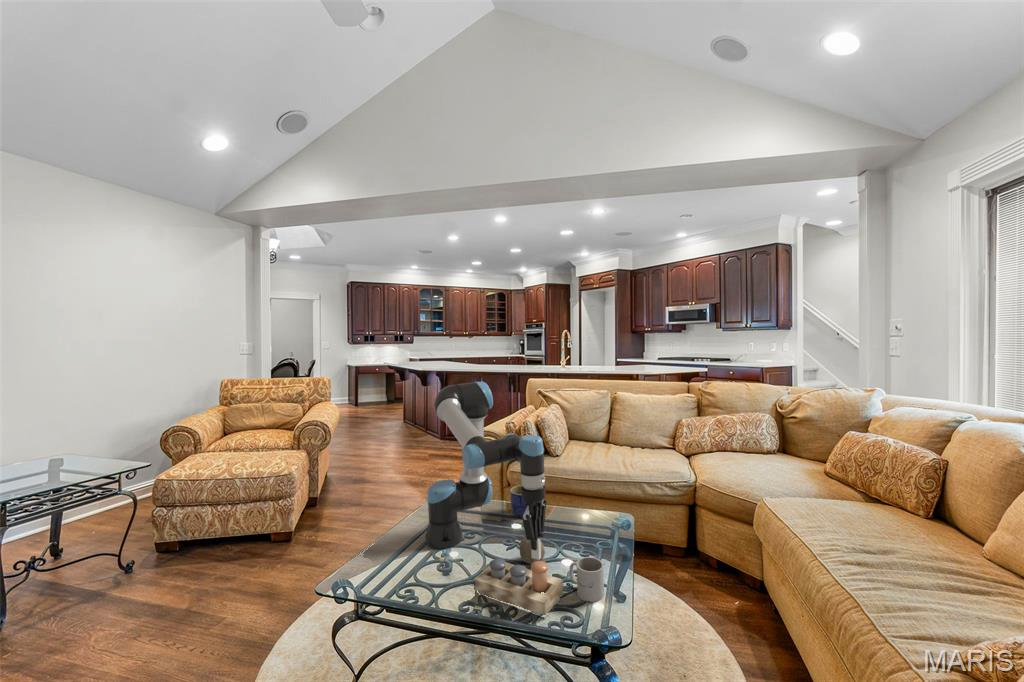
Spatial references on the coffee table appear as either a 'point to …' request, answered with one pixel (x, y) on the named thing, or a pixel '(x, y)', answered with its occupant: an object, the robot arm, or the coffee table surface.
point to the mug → (589, 578)
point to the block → (520, 590)
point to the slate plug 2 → (518, 575)
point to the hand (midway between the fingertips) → (536, 557)
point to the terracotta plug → (539, 575)
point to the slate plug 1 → (497, 568)
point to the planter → (517, 501)
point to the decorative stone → (529, 551)
